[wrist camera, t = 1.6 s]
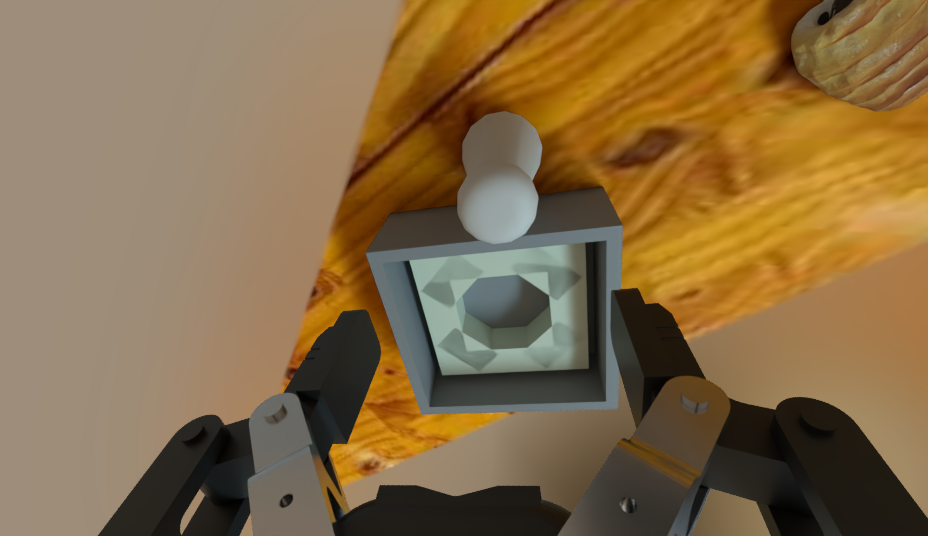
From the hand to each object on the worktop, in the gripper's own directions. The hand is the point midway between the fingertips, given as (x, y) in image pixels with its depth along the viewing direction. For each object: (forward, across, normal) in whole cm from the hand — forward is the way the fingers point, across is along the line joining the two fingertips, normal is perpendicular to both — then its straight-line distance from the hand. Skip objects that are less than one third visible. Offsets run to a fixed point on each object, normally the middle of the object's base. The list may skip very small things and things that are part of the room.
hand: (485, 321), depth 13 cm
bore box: (+22, +2, +14) cm, 25 cm away
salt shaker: (+22, 0, 0) cm, 22 cm away
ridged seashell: (+22, -23, -3) cm, 32 cm away
